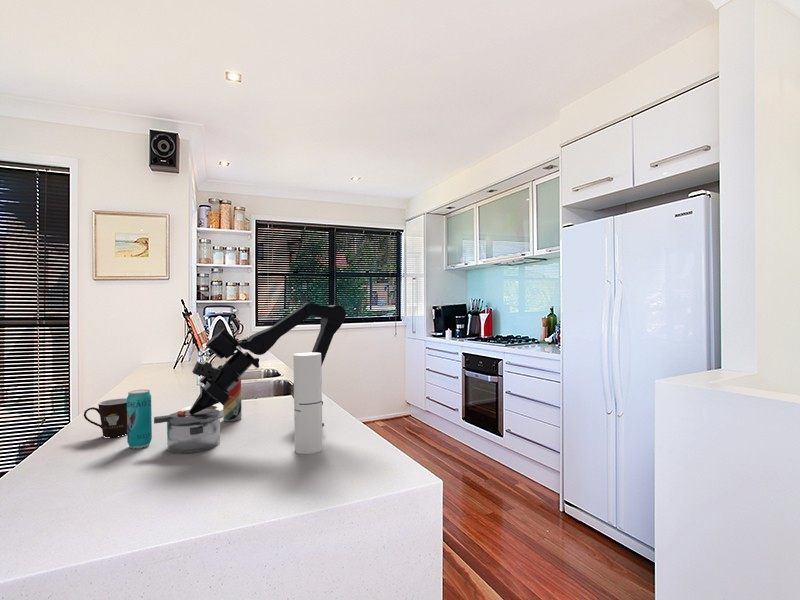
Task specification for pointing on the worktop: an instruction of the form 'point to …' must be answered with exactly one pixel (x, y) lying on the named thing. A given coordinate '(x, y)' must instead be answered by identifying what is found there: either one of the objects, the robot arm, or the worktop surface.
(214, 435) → the pot
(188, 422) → the lid
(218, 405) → the roll of tape
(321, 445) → the cylindrical container
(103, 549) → the worktop surface
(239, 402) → the lotion bottle
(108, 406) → the coffee mug
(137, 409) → the beverage can
